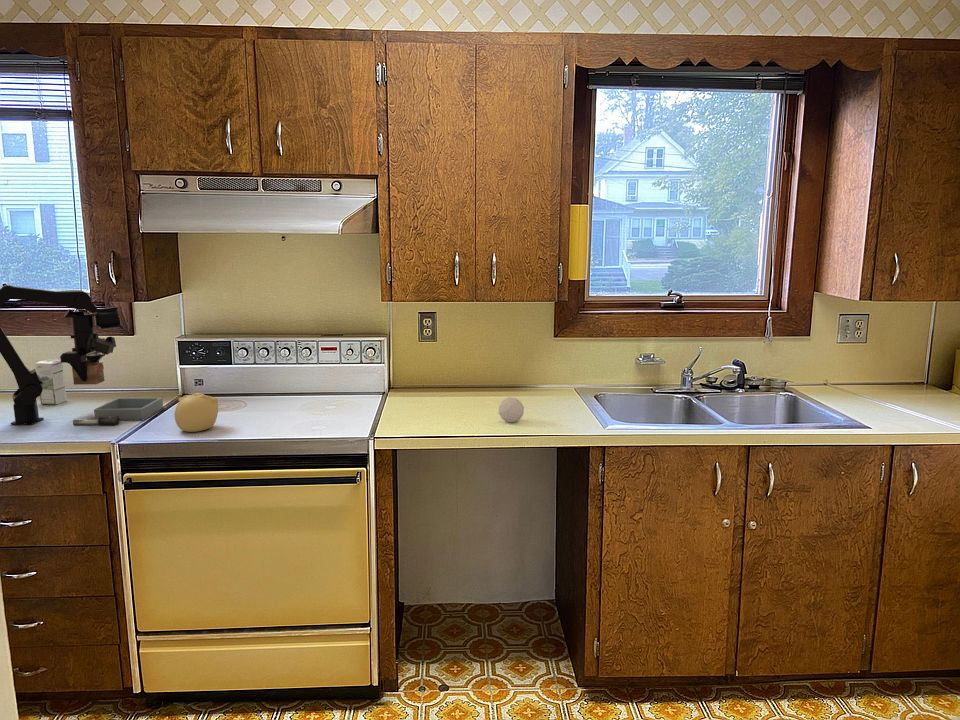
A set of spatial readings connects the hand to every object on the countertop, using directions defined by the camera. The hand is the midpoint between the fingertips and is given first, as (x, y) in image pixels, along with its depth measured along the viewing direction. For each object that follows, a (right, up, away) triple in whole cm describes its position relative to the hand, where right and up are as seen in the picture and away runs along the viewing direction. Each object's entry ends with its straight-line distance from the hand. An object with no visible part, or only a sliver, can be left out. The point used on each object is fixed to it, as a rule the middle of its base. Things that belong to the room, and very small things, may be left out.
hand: (89, 379), depth 222 cm
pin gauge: (+8, -13, -11) cm, 19 cm away
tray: (+12, -11, +1) cm, 17 cm away
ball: (+133, -13, -8) cm, 134 cm away
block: (0, -1, 0) cm, 1 cm away
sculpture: (+41, -15, -15) cm, 46 cm away
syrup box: (-21, -9, +16) cm, 27 cm away
